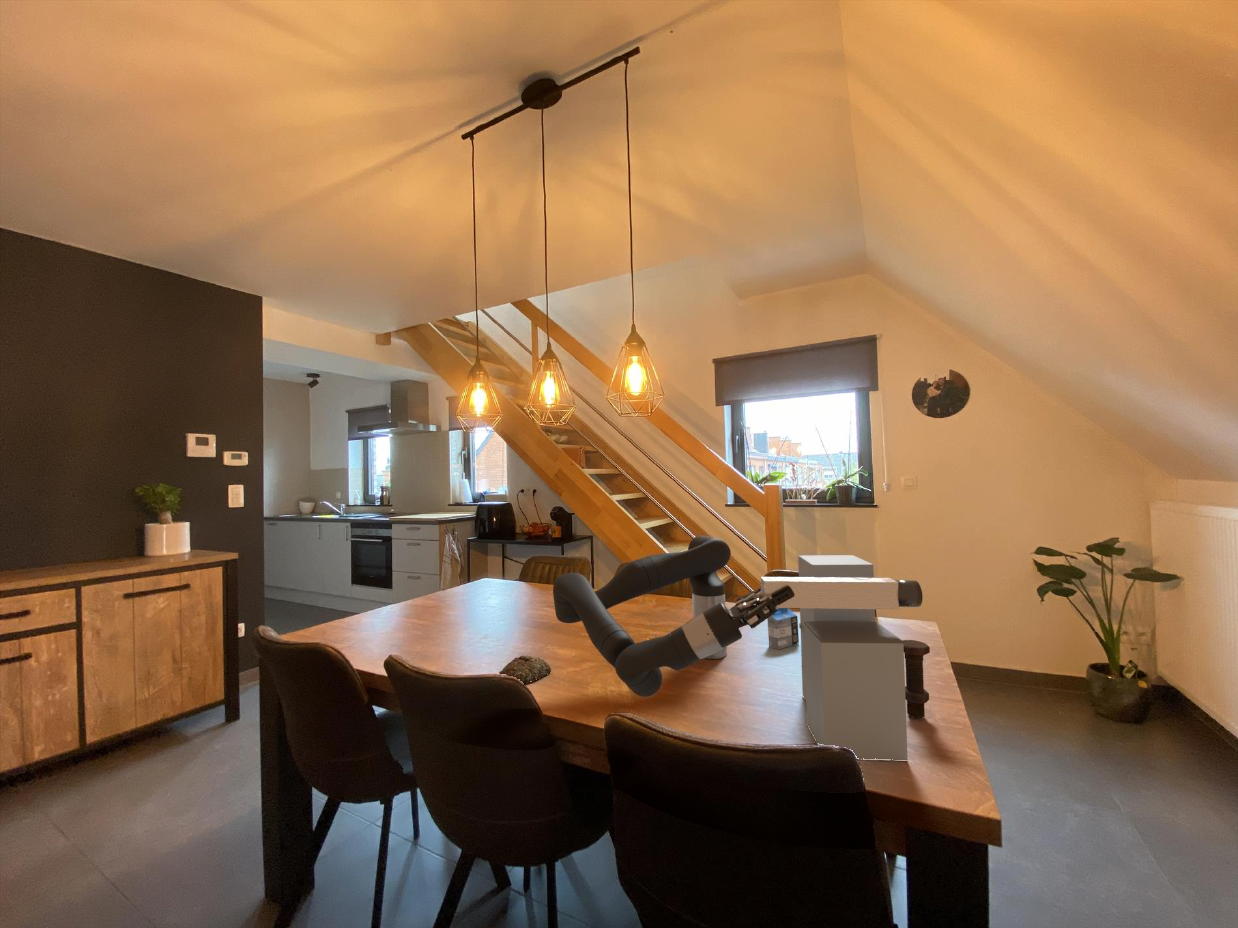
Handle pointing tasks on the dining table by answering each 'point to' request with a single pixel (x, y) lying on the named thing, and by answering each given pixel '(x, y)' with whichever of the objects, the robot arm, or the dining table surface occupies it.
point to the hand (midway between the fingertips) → (788, 587)
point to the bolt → (915, 677)
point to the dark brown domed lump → (526, 668)
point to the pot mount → (852, 670)
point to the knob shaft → (845, 592)
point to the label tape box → (783, 629)
